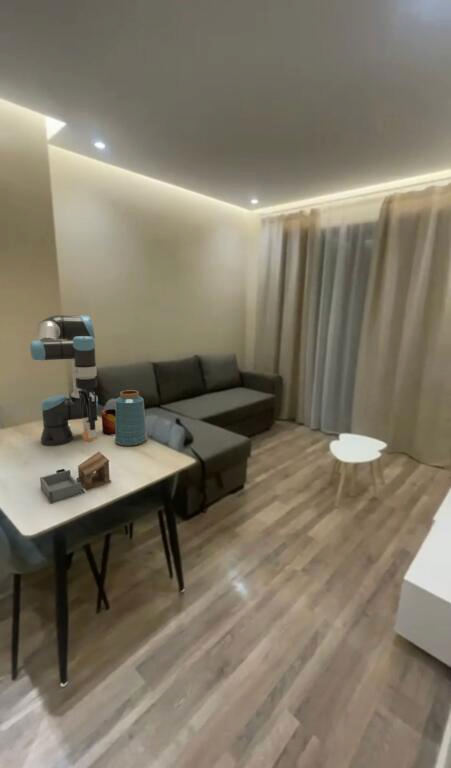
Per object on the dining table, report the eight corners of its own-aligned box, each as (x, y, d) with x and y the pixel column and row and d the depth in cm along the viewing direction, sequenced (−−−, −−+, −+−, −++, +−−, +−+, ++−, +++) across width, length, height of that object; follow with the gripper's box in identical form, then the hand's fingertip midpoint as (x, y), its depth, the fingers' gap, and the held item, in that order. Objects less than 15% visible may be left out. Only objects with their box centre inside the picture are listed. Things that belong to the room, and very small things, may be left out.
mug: (129, 432, 195) (129, 412, 192) (104, 436, 188) (103, 415, 185) (125, 427, 203) (124, 407, 200) (101, 430, 196) (100, 410, 194)
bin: (41, 488, 133) (40, 477, 132) (70, 479, 140) (69, 469, 139) (50, 503, 123) (49, 492, 122) (81, 493, 130) (80, 482, 129)
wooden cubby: (76, 479, 140) (75, 456, 138) (101, 472, 147) (99, 450, 144) (86, 490, 132) (84, 466, 130) (111, 482, 138) (110, 459, 136)
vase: (121, 435, 190) (119, 388, 185) (150, 436, 190) (149, 388, 184) (110, 446, 174) (107, 395, 169) (142, 447, 174) (140, 396, 168)
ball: (81, 440, 136) (80, 428, 135) (93, 438, 140) (93, 426, 139) (85, 444, 133) (84, 432, 132) (98, 441, 136) (97, 429, 135)
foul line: (71, 479, 140) (71, 479, 140) (73, 478, 141) (73, 478, 141) (83, 493, 130) (83, 493, 130) (85, 492, 130) (85, 492, 130)
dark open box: (56, 476, 143) (56, 470, 142) (64, 474, 144) (63, 468, 144) (58, 479, 140) (58, 473, 140) (66, 476, 142) (66, 471, 142)
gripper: (69, 374, 136) (73, 430, 140) (83, 382, 122) (87, 444, 127) (88, 372, 140) (91, 427, 145) (104, 379, 127) (107, 439, 131)
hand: (89, 435), depth 136 cm, fingers closed on ball, 5 cm apart
